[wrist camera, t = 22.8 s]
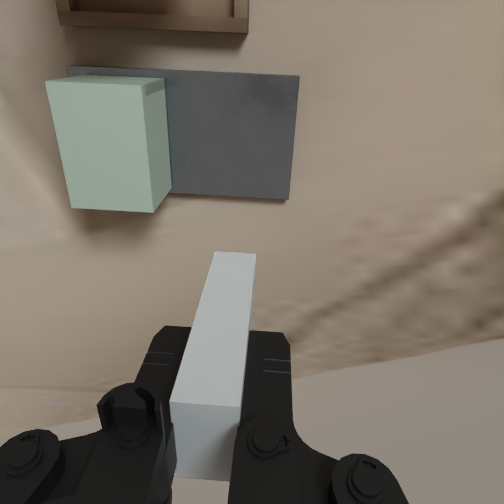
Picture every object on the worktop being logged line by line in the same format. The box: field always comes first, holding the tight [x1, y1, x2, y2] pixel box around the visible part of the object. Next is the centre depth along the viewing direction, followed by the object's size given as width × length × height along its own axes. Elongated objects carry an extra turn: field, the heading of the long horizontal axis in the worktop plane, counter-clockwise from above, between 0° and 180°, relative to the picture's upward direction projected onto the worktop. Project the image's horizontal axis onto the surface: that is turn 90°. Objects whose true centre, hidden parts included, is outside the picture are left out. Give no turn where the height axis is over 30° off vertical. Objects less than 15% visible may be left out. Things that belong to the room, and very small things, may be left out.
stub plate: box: [67, 65, 300, 200], centre depth 34 cm, size 11×20×4 cm, turn 88°
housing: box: [45, 75, 172, 213], centre depth 32 cm, size 10×7×6 cm
